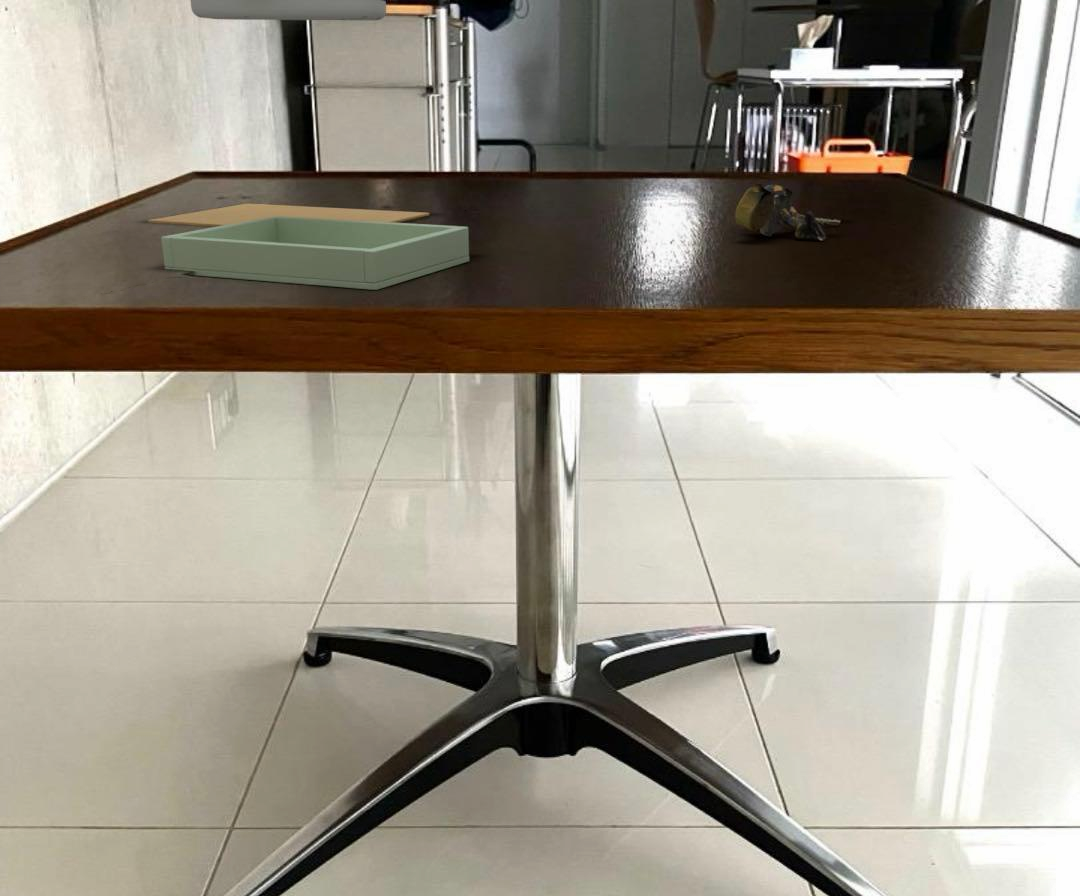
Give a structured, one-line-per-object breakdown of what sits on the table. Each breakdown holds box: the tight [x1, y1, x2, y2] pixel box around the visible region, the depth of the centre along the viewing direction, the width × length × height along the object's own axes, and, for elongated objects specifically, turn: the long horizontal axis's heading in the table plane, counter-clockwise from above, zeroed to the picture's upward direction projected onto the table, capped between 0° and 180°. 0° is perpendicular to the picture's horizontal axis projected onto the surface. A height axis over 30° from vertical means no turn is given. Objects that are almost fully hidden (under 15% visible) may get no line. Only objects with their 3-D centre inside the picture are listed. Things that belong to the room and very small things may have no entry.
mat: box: [147, 203, 430, 227], centre depth 108 cm, size 20×14×1 cm
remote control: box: [190, 0, 387, 21], centre depth 84 cm, size 6×13×2 cm, turn 88°
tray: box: [160, 216, 470, 291], centre depth 84 cm, size 17×13×2 cm
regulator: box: [734, 183, 842, 241], centre depth 98 cm, size 8×4×15 cm
